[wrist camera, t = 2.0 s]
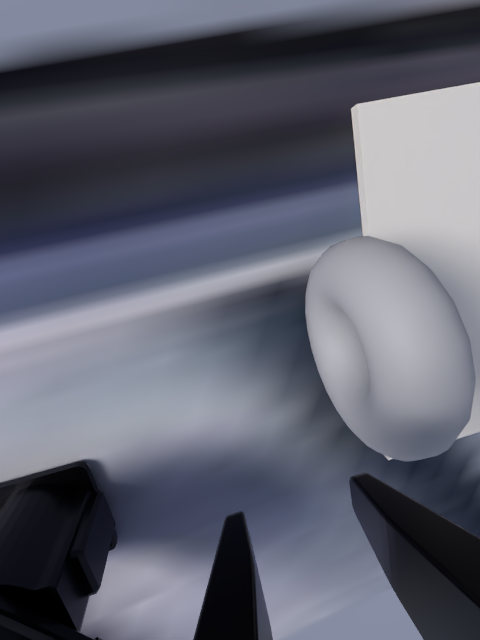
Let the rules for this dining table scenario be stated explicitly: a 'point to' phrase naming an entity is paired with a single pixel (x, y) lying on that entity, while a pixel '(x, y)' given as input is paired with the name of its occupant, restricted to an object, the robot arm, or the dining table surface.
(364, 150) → the placemat
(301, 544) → the dining table surface
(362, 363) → the donut
